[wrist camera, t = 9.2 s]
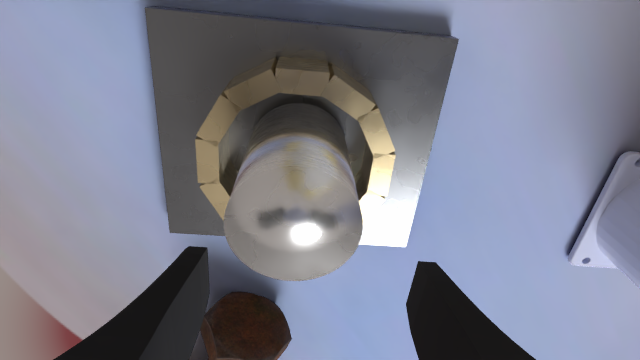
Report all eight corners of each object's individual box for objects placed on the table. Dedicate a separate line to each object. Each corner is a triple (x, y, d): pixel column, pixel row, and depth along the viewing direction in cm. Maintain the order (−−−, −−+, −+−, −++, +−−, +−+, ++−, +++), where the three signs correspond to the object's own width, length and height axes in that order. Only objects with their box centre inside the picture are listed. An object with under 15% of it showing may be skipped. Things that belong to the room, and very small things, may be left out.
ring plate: (451, 35, 18) (480, 48, 15) (402, 237, 24) (416, 276, 21) (153, 5, 17) (119, 13, 14) (175, 222, 23) (154, 261, 20)
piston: (352, 106, 19) (373, 172, 13) (340, 194, 21) (353, 284, 15) (250, 99, 19) (221, 161, 12) (250, 188, 21) (225, 277, 15)
